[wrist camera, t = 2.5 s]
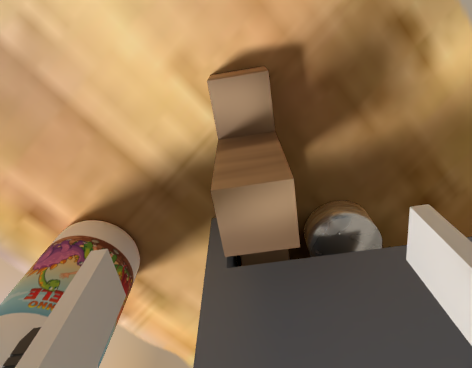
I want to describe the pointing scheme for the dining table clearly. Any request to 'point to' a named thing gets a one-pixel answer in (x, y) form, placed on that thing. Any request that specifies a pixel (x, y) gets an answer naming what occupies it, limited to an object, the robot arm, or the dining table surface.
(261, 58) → the dining table surface
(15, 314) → the milk bottle
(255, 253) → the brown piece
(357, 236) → the puck
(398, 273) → the cabinet
